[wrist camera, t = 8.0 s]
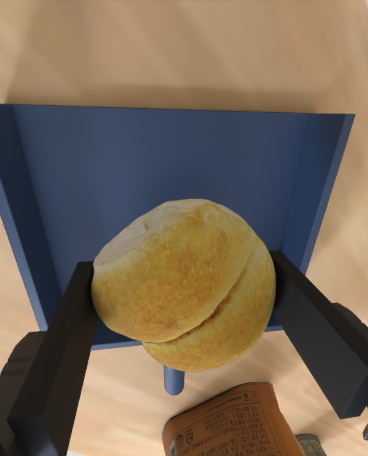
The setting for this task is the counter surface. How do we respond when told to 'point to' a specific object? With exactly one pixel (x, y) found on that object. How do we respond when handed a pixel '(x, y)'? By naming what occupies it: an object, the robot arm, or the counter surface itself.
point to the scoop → (155, 184)
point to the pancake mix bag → (233, 426)
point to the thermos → (310, 445)
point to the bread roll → (186, 284)
